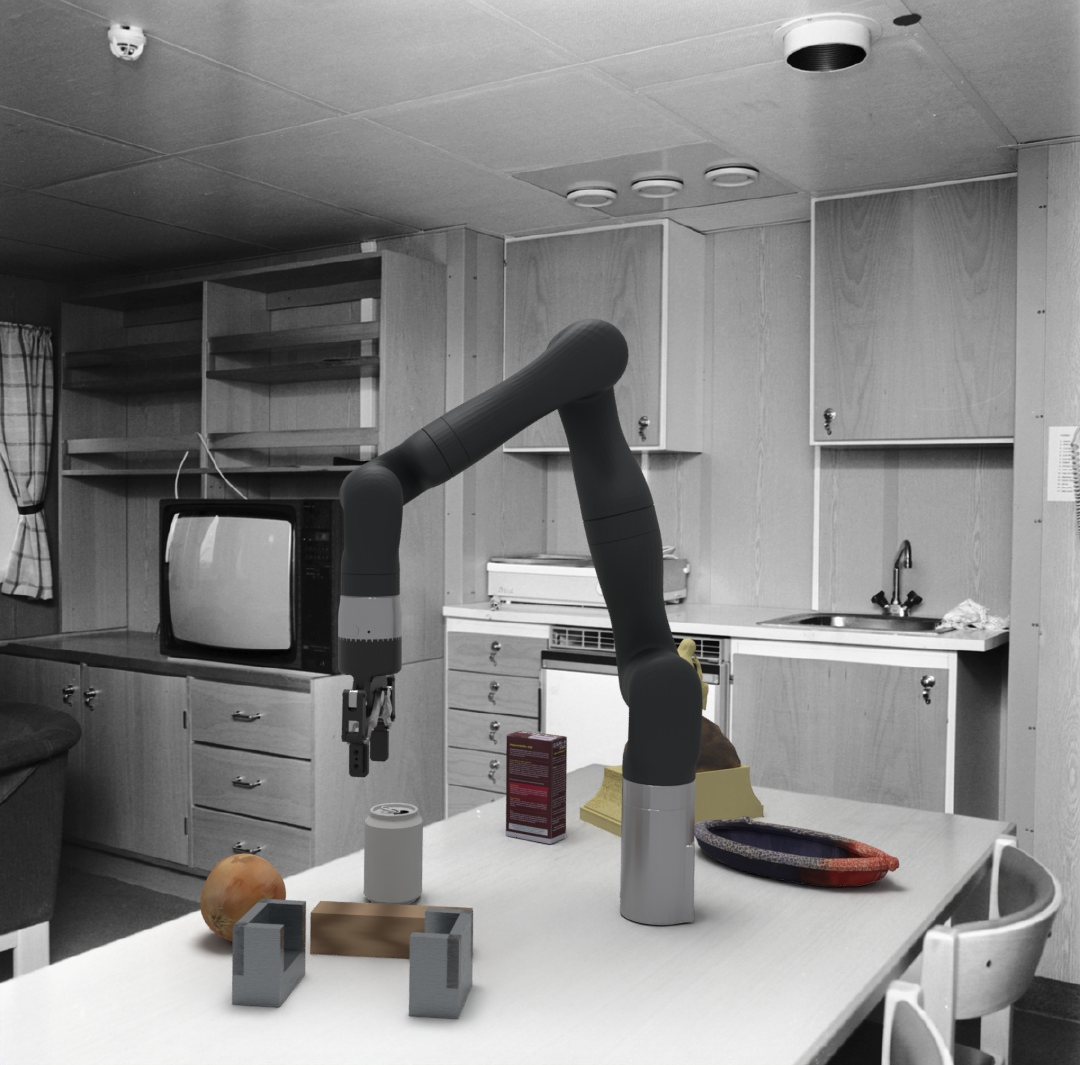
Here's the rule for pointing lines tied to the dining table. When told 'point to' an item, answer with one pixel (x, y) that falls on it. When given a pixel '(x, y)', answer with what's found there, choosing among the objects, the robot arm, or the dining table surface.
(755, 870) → the dish
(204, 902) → the onion
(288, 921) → the cup brackets
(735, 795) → the decorative clock
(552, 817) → the supplement box
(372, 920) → the rail
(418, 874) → the can
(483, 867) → the dining table surface
